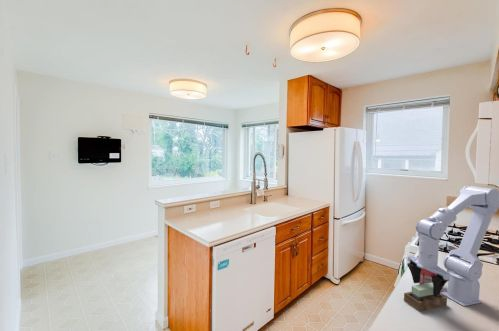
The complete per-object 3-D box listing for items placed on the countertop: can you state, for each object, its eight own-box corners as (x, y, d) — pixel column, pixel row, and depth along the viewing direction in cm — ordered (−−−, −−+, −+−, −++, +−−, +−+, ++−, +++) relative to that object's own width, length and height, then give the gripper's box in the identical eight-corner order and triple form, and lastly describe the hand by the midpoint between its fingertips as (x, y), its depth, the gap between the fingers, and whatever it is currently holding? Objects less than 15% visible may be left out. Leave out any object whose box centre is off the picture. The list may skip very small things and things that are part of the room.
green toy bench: (431, 298, 90) (432, 282, 90) (439, 303, 87) (440, 286, 87) (410, 302, 87) (411, 285, 87) (418, 307, 85) (419, 290, 84)
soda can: (426, 277, 105) (428, 251, 104) (439, 287, 98) (441, 259, 97) (411, 277, 105) (412, 251, 104) (423, 287, 98) (425, 259, 97)
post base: (430, 295, 92) (430, 288, 92) (446, 305, 86) (447, 297, 86) (403, 300, 88) (404, 293, 88) (418, 311, 83) (419, 303, 83)
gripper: (402, 245, 92) (400, 279, 93) (440, 263, 78) (437, 302, 79) (416, 244, 94) (414, 277, 95) (456, 260, 80) (453, 299, 81)
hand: (425, 288), depth 87 cm, fingers open, 7 cm apart
